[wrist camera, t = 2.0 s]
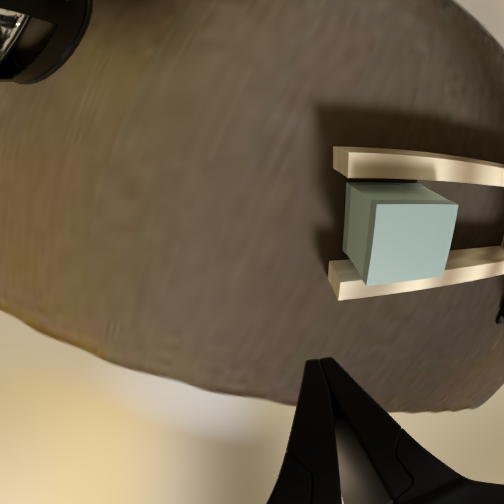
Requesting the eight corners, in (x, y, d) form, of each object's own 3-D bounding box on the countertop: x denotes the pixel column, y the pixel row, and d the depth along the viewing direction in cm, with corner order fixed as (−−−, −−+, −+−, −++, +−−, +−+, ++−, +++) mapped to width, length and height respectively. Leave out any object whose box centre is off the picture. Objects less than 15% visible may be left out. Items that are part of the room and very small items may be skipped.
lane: (513, 166, 17) (534, 175, 15) (495, 258, 22) (512, 272, 19) (333, 146, 17) (348, 152, 15) (327, 277, 22) (338, 300, 19)
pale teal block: (417, 183, 18) (458, 204, 14) (409, 244, 21) (442, 276, 16) (345, 181, 18) (376, 204, 14) (341, 248, 21) (366, 286, 16)
